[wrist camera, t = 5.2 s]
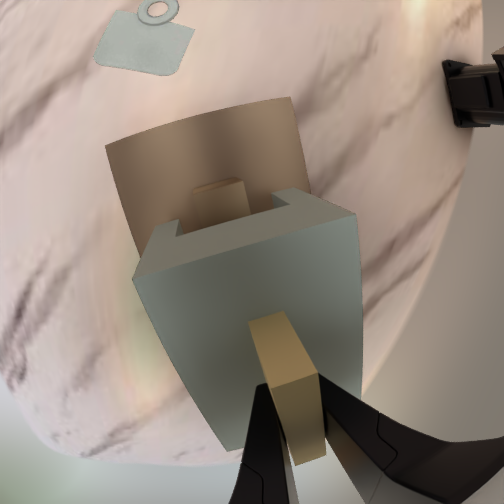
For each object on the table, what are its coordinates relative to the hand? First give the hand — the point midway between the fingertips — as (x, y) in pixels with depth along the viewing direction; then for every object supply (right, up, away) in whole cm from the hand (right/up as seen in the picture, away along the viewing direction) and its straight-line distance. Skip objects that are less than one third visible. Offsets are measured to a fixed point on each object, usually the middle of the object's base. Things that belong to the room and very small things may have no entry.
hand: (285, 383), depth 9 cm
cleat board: (-2, +4, +10) cm, 11 cm away
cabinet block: (-1, +2, +6) cm, 7 cm away
